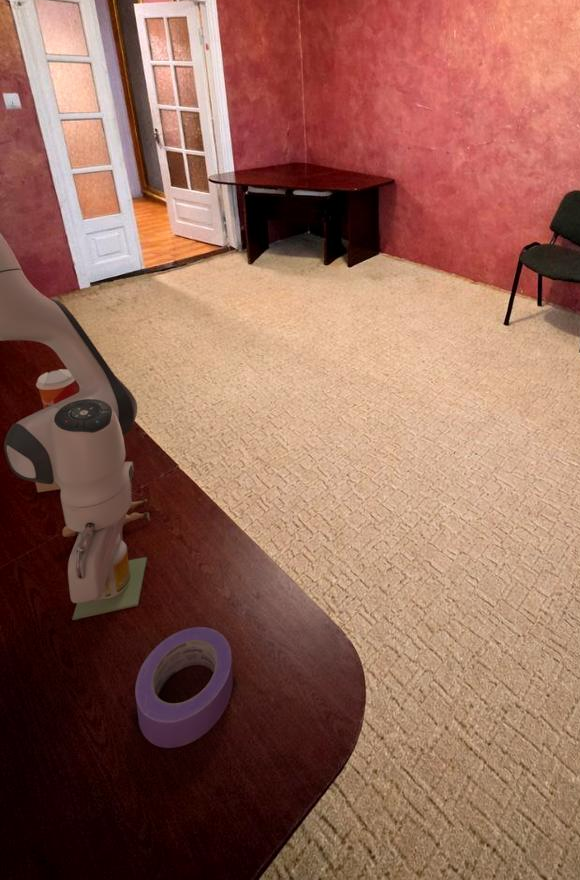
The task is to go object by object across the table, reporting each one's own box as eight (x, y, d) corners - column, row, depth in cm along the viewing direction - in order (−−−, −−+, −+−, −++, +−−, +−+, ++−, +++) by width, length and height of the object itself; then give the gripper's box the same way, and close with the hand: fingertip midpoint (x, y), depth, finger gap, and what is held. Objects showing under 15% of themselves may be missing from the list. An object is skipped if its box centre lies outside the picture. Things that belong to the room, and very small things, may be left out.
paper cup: (42, 424, 117) (32, 374, 113) (79, 414, 122) (71, 365, 118) (47, 441, 112) (37, 388, 107) (86, 429, 117) (78, 378, 112)
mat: (72, 620, 74) (72, 618, 74) (88, 570, 82) (88, 568, 82) (138, 605, 77) (137, 603, 77) (147, 558, 85) (146, 556, 85)
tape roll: (218, 634, 73) (216, 610, 72) (245, 708, 65) (244, 682, 63) (131, 683, 66) (127, 658, 65) (148, 772, 58) (144, 746, 56)
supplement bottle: (94, 606, 76) (86, 560, 73) (92, 580, 80) (84, 535, 77) (133, 589, 79) (126, 544, 76) (128, 565, 83) (122, 521, 80)
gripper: (102, 553, 65) (114, 626, 70) (135, 455, 84) (143, 518, 88) (48, 562, 63) (64, 637, 68) (93, 460, 82) (104, 524, 86)
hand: (109, 569), depth 78 cm, fingers open, 8 cm apart
